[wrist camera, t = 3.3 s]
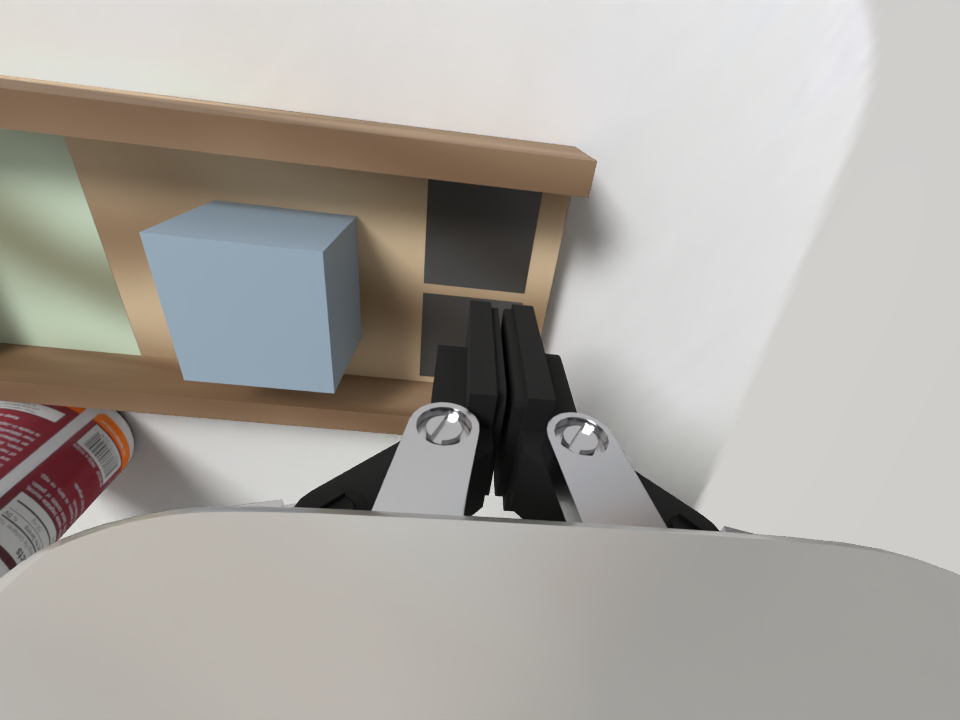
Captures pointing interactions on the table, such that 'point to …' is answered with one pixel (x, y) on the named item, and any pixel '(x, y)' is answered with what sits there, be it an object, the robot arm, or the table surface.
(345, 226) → the block
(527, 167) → the box
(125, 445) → the pill bottle
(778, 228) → the table surface
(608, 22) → the table surface
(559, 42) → the table surface
